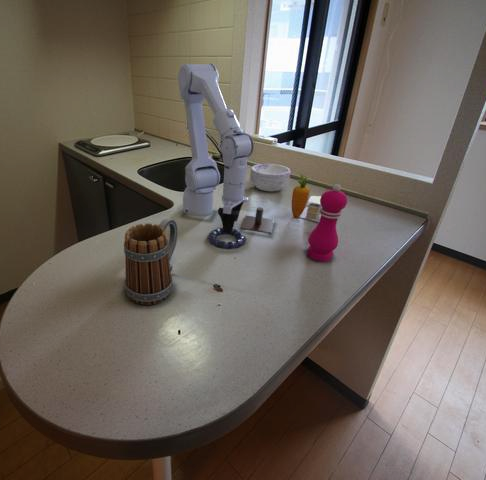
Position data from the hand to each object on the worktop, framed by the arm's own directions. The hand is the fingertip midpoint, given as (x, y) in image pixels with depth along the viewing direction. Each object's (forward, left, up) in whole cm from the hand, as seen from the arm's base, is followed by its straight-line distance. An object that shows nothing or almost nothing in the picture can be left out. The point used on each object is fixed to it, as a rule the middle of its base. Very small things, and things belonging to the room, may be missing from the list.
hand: (230, 226), depth 91 cm
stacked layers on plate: (+24, +24, -3) cm, 34 cm away
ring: (0, -4, -2) cm, 4 cm away
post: (+7, +8, -3) cm, 11 cm away
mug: (-11, -28, -3) cm, 30 cm away
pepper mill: (+25, -2, -4) cm, 25 cm away
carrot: (+18, +18, -4) cm, 26 cm away
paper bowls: (+6, +44, -3) cm, 45 cm away
